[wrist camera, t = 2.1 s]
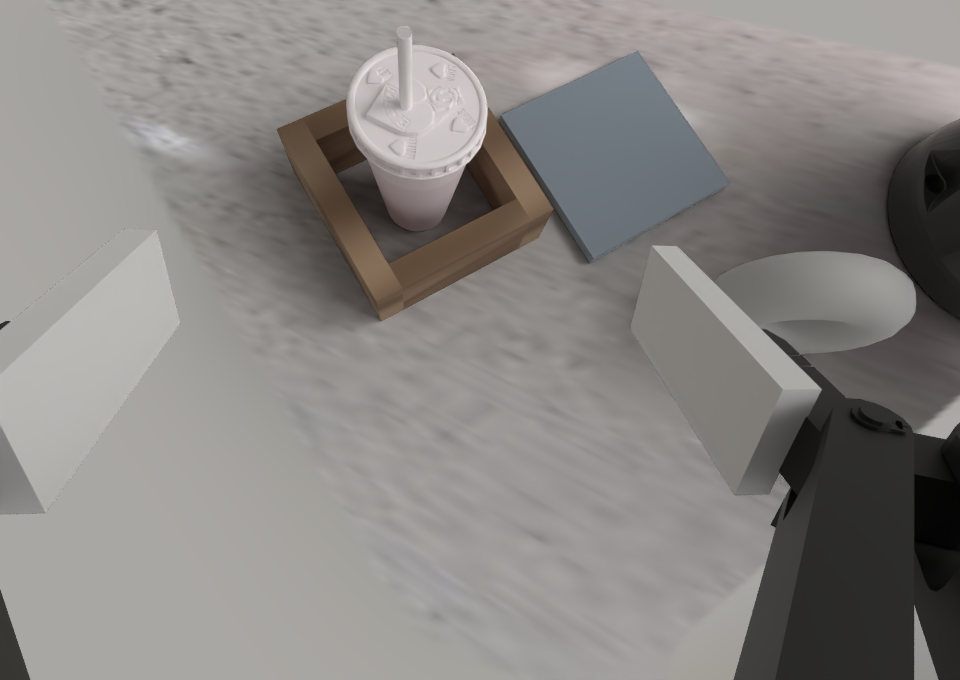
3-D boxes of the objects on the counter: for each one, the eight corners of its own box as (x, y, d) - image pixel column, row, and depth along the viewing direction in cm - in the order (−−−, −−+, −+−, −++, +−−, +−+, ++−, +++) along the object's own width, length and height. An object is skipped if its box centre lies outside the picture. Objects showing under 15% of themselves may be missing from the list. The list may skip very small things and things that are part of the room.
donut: (818, 314, 35) (971, 259, 26) (820, 367, 35) (978, 329, 25) (670, 291, 34) (771, 224, 25) (668, 344, 34) (771, 297, 24)
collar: (538, 237, 34) (553, 209, 30) (381, 321, 32) (376, 301, 28) (449, 97, 36) (453, 53, 32) (292, 167, 33) (276, 129, 29)
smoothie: (351, 170, 34) (309, -27, 20) (450, 145, 35) (473, -56, 21) (381, 264, 33) (358, 124, 19) (482, 236, 34) (529, 85, 20)
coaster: (723, 188, 37) (730, 183, 36) (589, 263, 34) (593, 258, 33) (633, 59, 38) (637, 51, 37) (499, 122, 36) (500, 114, 35)
